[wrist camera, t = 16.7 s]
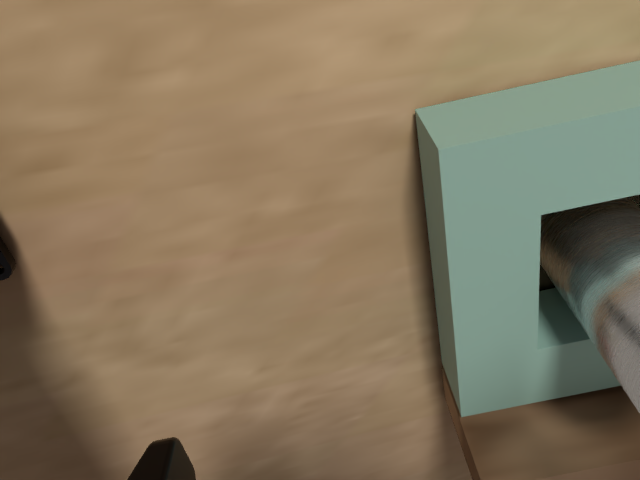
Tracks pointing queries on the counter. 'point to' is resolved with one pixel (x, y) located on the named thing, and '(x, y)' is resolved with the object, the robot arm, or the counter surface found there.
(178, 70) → the counter surface
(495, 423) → the backstop wall
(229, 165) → the counter surface
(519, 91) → the socket block
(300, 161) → the counter surface
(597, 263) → the dowel
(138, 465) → the robot arm
